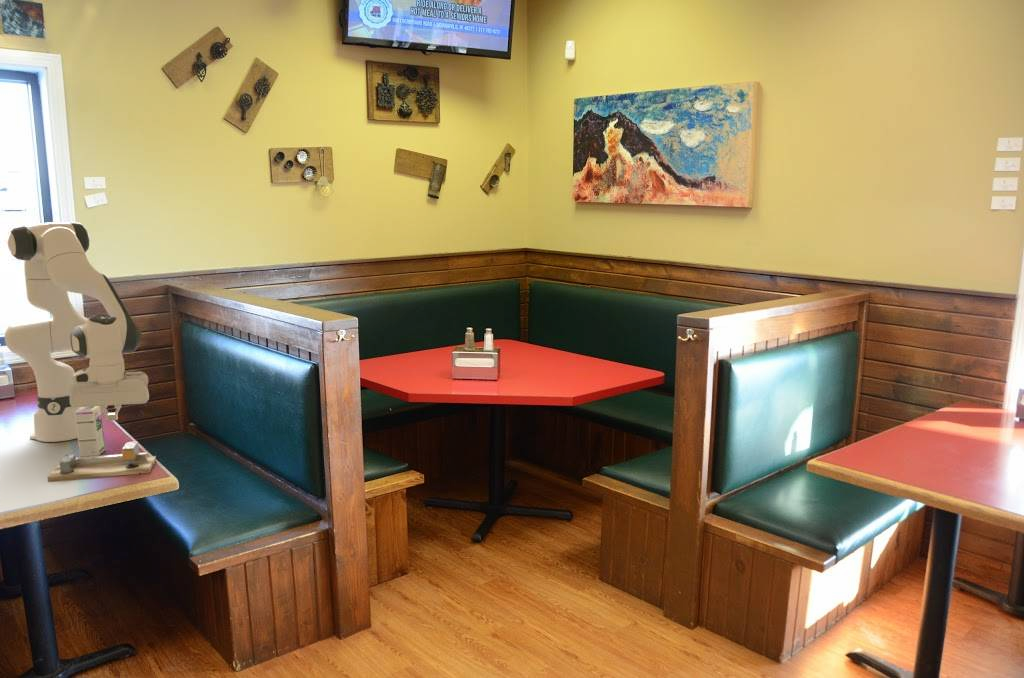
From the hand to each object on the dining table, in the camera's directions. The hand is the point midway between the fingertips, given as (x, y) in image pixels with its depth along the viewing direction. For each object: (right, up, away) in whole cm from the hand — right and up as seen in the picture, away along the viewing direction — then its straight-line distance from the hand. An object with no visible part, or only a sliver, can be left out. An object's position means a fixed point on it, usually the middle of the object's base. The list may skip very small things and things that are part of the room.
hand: (111, 419), depth 233 cm
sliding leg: (+4, -13, +3) cm, 14 cm away
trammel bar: (-3, -13, +1) cm, 14 cm away
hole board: (-3, -15, +2) cm, 15 cm away
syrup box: (-14, -12, +17) cm, 25 cm away
